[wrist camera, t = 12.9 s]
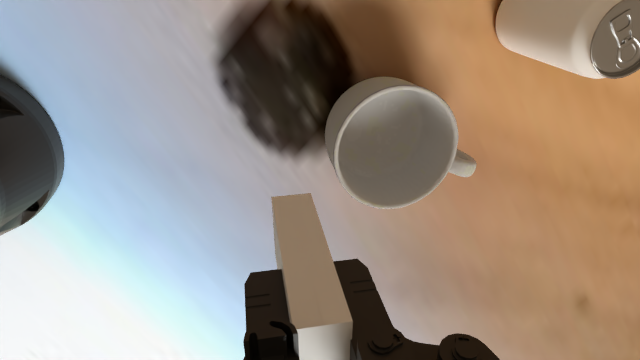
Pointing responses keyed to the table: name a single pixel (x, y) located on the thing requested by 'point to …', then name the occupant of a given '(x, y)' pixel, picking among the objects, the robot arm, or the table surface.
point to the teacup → (393, 142)
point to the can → (574, 34)
